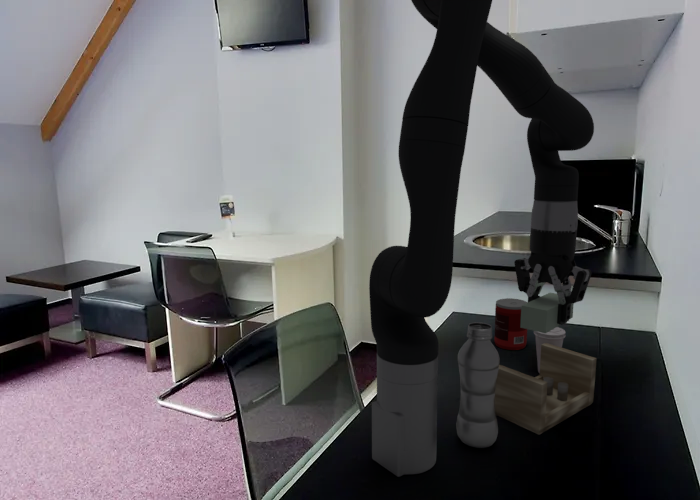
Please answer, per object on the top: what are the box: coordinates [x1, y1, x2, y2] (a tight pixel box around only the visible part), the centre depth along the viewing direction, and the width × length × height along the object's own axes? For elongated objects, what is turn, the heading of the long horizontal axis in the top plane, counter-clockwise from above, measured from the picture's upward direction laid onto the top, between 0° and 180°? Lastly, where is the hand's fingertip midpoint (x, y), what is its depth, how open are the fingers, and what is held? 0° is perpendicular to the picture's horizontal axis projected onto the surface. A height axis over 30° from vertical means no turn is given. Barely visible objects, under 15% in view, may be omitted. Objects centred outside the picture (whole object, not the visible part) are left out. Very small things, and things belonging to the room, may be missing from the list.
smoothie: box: [533, 326, 566, 374], centre depth 109 cm, size 6×6×14 cm
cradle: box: [495, 343, 598, 436], centre depth 94 cm, size 18×10×9 cm, turn 128°
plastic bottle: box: [455, 321, 501, 449], centre depth 82 cm, size 6×7×20 cm
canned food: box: [493, 297, 528, 351], centre depth 126 cm, size 8×8×11 cm
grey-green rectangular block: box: [520, 292, 575, 333], centre depth 91 cm, size 12×4×4 cm, turn 136°
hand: (547, 319), depth 91 cm, fingers closed on grey-green rectangular block, 5 cm apart
